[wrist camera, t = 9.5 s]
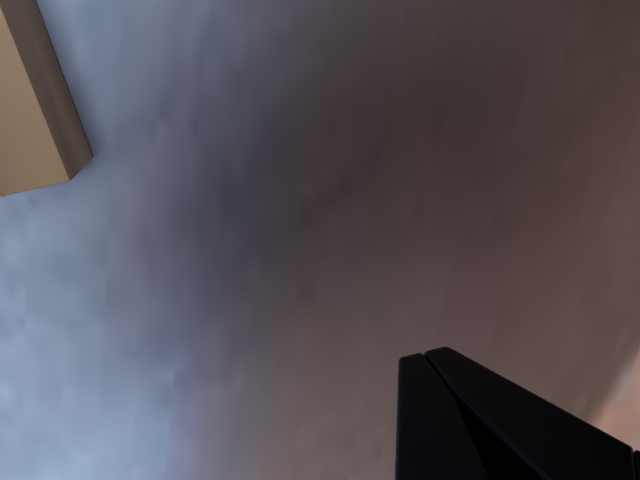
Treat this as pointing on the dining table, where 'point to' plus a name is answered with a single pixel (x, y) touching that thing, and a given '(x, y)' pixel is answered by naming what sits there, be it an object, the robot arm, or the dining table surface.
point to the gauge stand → (35, 106)
